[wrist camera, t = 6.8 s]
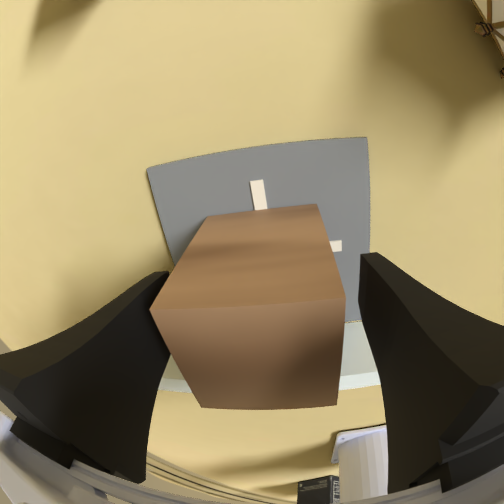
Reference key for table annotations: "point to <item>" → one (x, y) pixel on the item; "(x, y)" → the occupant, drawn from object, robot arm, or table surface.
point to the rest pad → (274, 194)
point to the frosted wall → (352, 368)
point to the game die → (492, 22)
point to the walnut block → (257, 311)
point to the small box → (319, 491)
